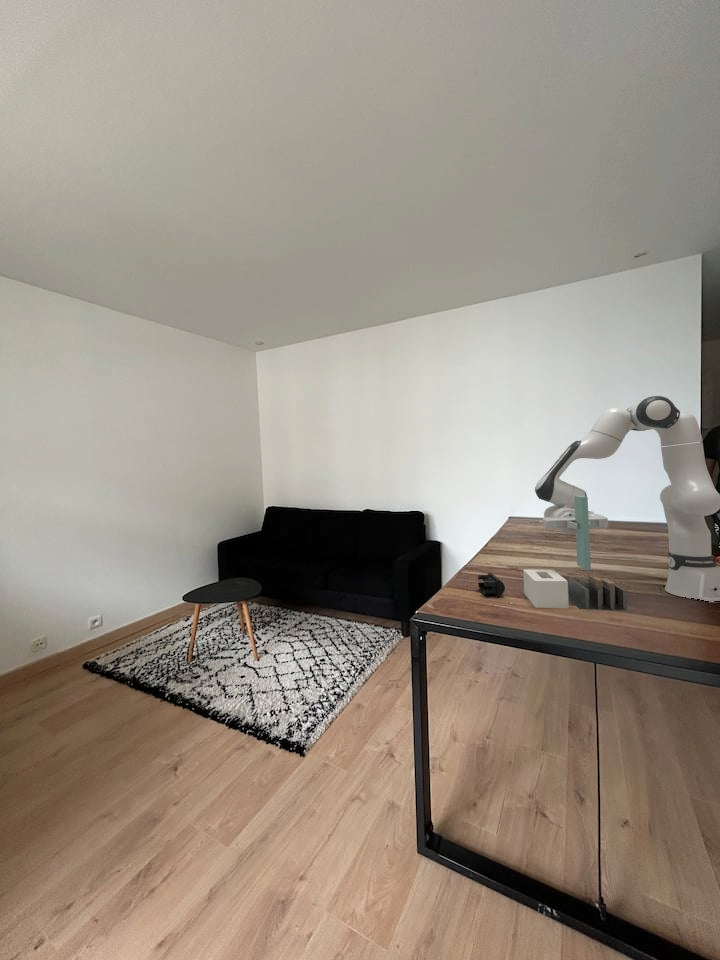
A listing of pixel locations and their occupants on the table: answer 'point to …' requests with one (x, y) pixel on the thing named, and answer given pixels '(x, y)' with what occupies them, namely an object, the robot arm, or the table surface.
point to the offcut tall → (597, 584)
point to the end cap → (490, 585)
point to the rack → (596, 596)
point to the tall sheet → (582, 532)
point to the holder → (545, 588)
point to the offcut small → (609, 585)
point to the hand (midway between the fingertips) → (583, 526)
